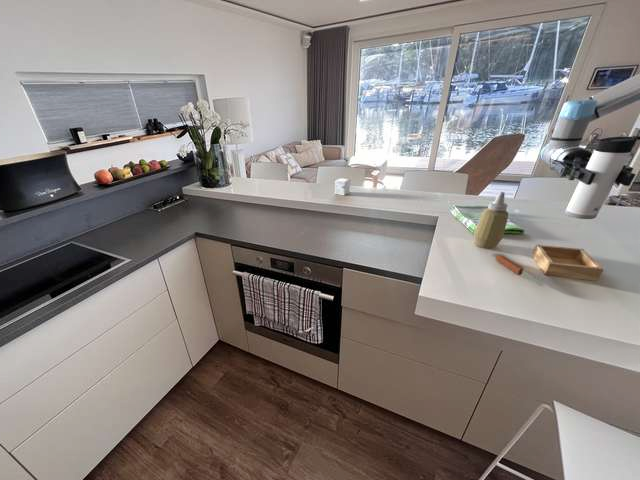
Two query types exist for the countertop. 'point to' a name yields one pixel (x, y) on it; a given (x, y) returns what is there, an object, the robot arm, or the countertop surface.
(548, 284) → the countertop surface
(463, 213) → the dish towel
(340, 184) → the product carton
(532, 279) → the kitchen knife
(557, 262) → the wooden tray
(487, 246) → the squeeze bottle
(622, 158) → the travel mug
